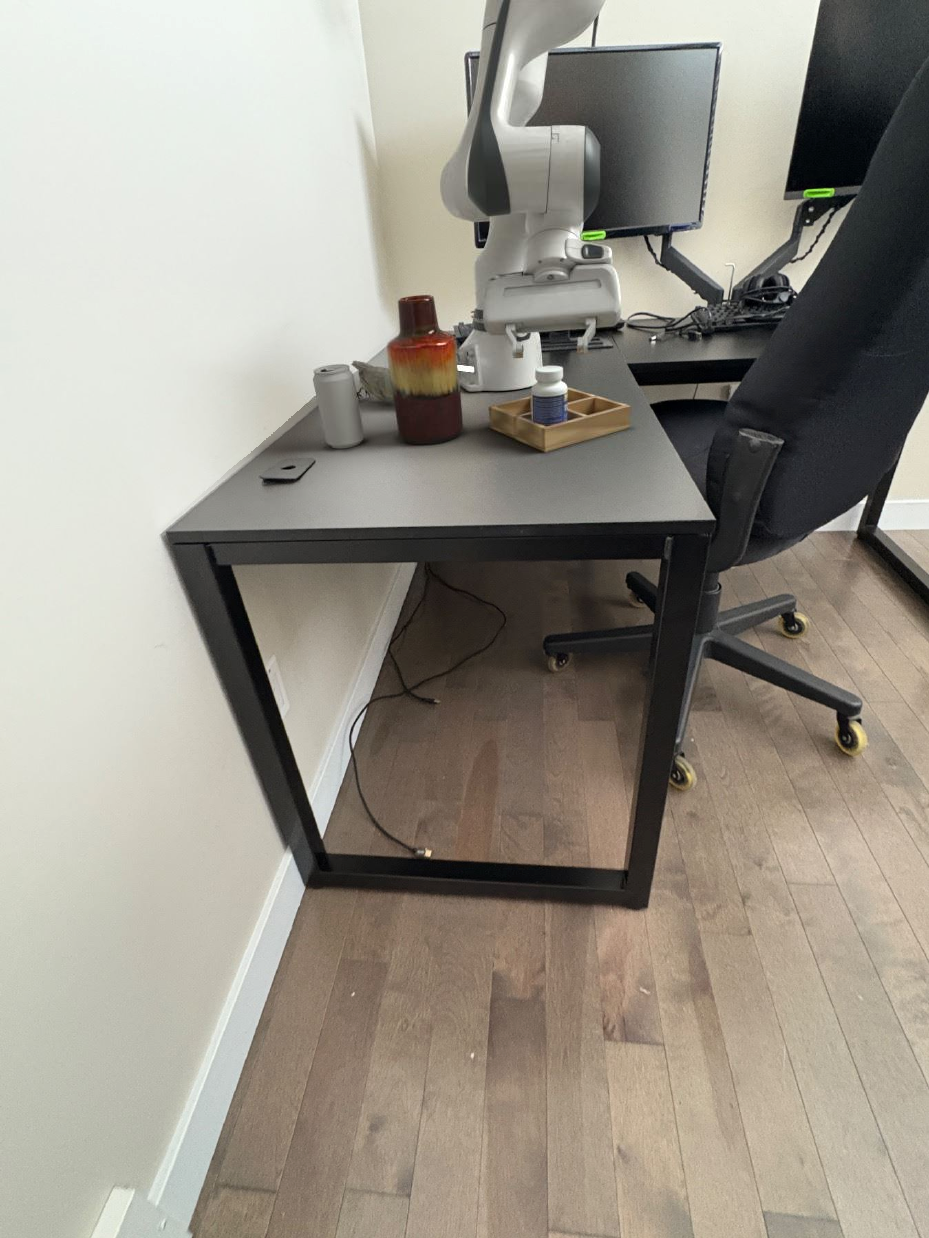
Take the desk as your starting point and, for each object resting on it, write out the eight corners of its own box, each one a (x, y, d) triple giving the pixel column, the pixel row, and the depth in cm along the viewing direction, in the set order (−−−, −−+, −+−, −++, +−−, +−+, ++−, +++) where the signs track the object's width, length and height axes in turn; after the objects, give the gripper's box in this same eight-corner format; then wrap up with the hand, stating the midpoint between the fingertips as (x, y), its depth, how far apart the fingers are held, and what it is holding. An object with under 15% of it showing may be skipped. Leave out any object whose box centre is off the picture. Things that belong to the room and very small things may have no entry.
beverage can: (319, 446, 100) (302, 370, 94) (349, 434, 104) (335, 361, 97) (342, 452, 97) (326, 374, 90) (373, 440, 100) (359, 364, 93)
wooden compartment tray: (489, 427, 101) (488, 406, 99) (567, 407, 106) (567, 387, 104) (544, 452, 89) (544, 429, 87) (629, 428, 94) (630, 405, 92)
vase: (474, 426, 102) (464, 291, 90) (442, 447, 94) (427, 303, 83) (421, 422, 106) (405, 293, 95) (386, 442, 99) (364, 304, 87)
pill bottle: (571, 437, 91) (572, 370, 85) (537, 442, 90) (536, 374, 85) (561, 427, 95) (561, 362, 90) (528, 432, 95) (526, 367, 89)
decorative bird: (406, 411, 113) (401, 370, 108) (350, 402, 122) (343, 364, 118) (426, 404, 116) (421, 363, 112) (370, 396, 125) (363, 358, 121)
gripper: (481, 261, 89) (476, 346, 87) (622, 246, 85) (621, 335, 83) (488, 290, 95) (483, 370, 93) (620, 277, 91) (619, 361, 89)
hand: (549, 354), depth 88 cm, fingers open, 8 cm apart
